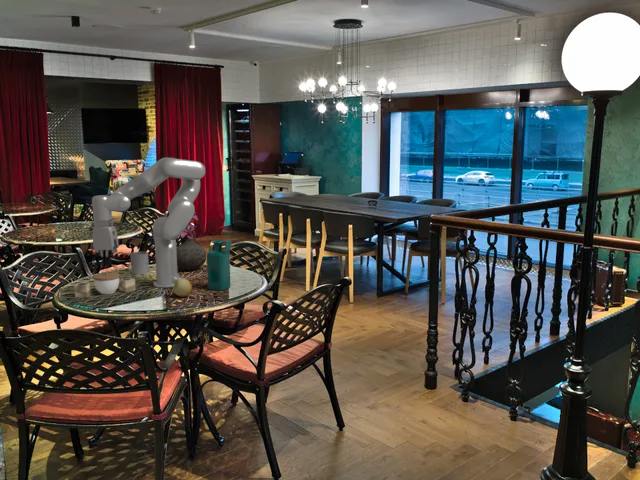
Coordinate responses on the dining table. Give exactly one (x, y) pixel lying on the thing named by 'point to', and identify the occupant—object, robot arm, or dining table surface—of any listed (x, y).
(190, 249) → the vase
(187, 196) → the robot arm
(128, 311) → the dining table surface
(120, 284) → the marked cube 2
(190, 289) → the fruit
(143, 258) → the mug
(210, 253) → the teal bottle
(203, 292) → the dining table surface
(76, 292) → the marked cube 1
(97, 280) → the lidded jar
